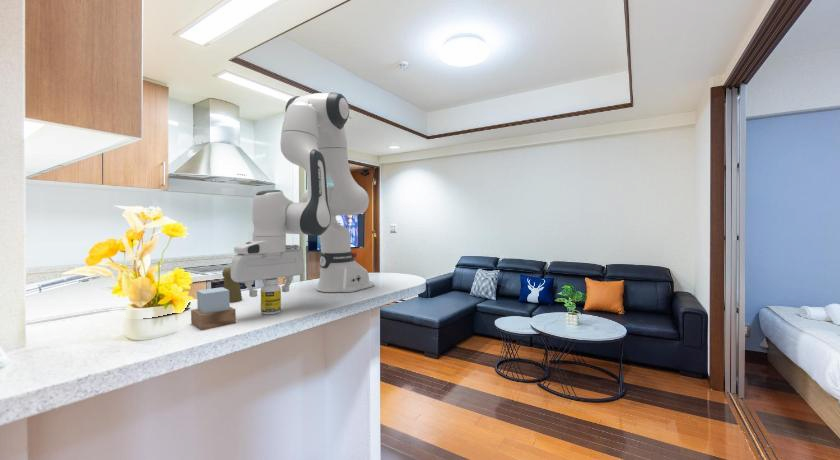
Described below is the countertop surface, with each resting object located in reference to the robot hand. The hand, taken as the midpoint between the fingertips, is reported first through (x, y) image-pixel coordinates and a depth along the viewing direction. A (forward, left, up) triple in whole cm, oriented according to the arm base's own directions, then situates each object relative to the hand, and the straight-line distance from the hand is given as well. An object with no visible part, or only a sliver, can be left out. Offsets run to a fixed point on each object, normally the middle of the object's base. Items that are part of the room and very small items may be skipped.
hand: (270, 294), depth 103 cm
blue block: (+14, -1, -2) cm, 15 cm away
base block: (+14, -1, -6) cm, 16 cm away
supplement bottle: (0, 0, -6) cm, 6 cm away
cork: (+2, -24, -6) cm, 25 cm away
